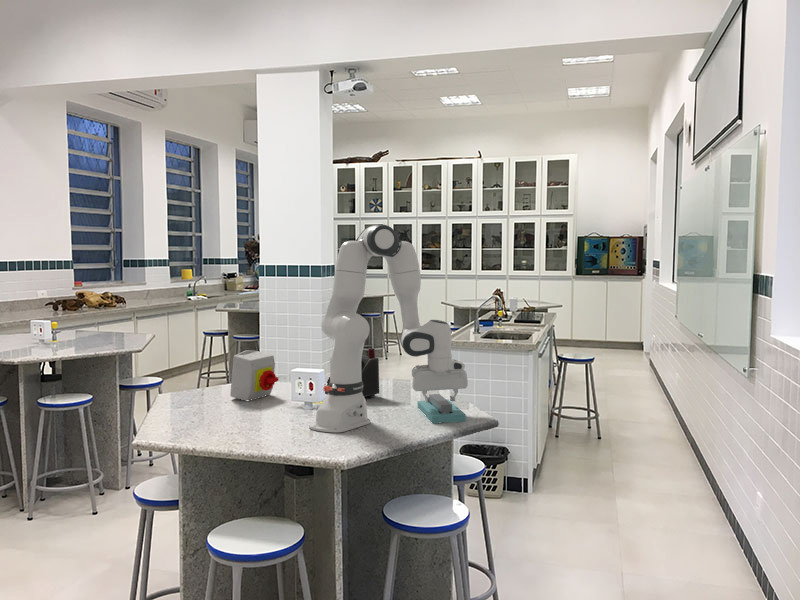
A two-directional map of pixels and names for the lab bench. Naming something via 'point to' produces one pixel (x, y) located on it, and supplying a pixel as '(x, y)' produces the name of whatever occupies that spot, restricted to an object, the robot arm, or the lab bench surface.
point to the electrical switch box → (252, 375)
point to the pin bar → (440, 403)
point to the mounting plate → (436, 415)
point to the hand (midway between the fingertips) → (440, 401)
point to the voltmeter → (368, 374)
